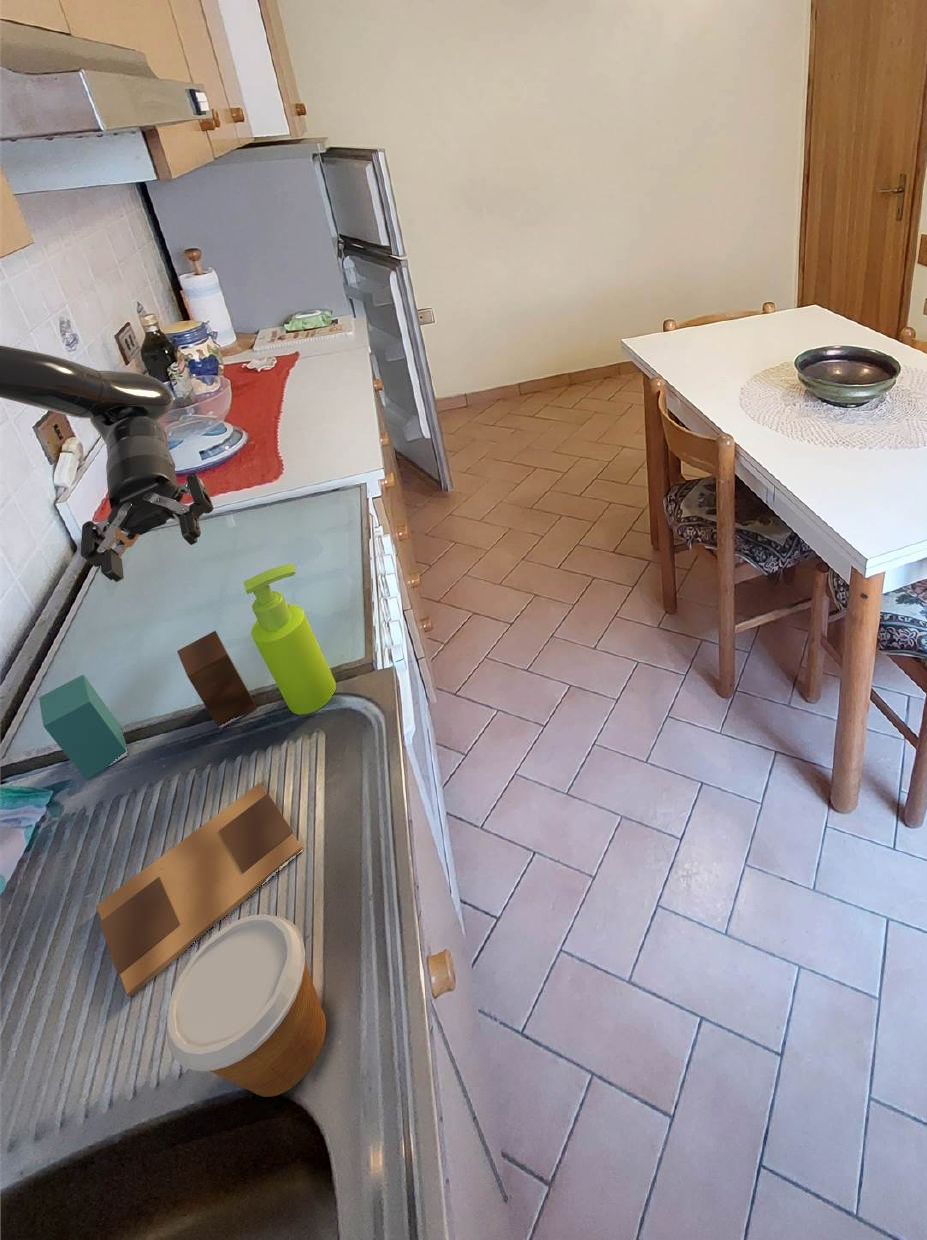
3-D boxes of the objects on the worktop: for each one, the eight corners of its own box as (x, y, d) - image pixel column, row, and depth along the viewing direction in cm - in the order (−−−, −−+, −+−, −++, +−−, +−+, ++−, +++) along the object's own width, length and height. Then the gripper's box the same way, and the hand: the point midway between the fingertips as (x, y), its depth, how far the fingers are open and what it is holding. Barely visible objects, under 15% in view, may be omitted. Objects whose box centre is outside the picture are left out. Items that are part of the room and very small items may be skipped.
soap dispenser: (349, 693, 88) (297, 577, 78) (292, 723, 85) (231, 606, 75) (338, 664, 92) (288, 551, 83) (284, 691, 89) (226, 577, 80)
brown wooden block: (220, 730, 85) (187, 676, 80) (209, 704, 89) (176, 650, 84) (257, 707, 87) (227, 653, 83) (244, 683, 91) (215, 630, 86)
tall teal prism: (86, 780, 80) (43, 726, 76) (80, 750, 84) (38, 697, 79) (129, 755, 83) (89, 700, 78) (121, 727, 87) (83, 673, 82)
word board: (128, 998, 61) (124, 994, 60) (98, 910, 68) (93, 905, 67) (304, 850, 71) (302, 845, 71) (262, 785, 78) (260, 781, 77)
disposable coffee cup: (271, 1156, 51) (208, 1096, 45) (199, 1078, 56) (132, 1013, 50) (369, 1013, 58) (325, 945, 53) (298, 954, 63) (250, 885, 57)
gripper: (64, 483, 88) (66, 573, 77) (181, 432, 92) (197, 510, 82) (103, 517, 93) (109, 605, 83) (211, 467, 97) (230, 544, 87)
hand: (153, 558), depth 82 cm, fingers open, 8 cm apart
